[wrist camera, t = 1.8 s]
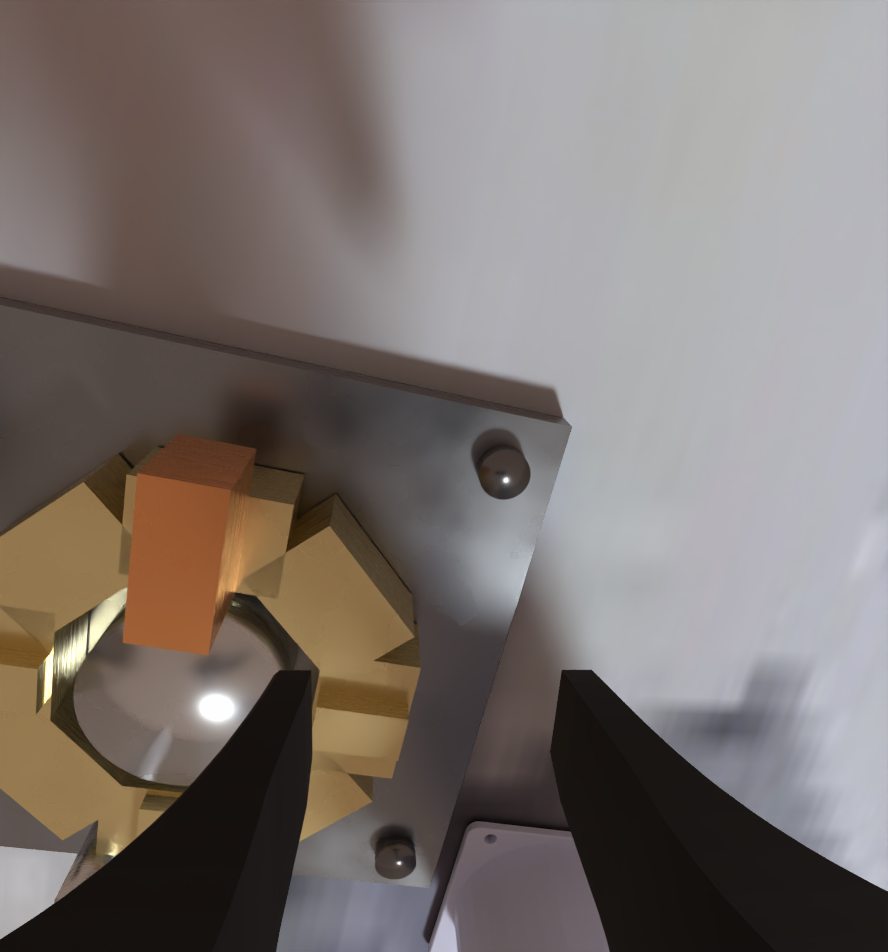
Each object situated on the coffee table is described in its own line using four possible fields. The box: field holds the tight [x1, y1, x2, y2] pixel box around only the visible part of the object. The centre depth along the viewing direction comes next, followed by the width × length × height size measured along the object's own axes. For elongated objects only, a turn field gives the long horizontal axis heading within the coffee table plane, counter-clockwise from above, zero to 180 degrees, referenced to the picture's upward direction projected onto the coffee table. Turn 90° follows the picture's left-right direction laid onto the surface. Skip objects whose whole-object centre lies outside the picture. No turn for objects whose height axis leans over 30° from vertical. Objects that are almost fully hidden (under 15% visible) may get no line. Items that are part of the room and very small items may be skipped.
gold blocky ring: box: [0, 434, 421, 855], centre depth 19 cm, size 14×15×5 cm
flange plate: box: [0, 297, 572, 903], centre depth 21 cm, size 20×20×4 cm
